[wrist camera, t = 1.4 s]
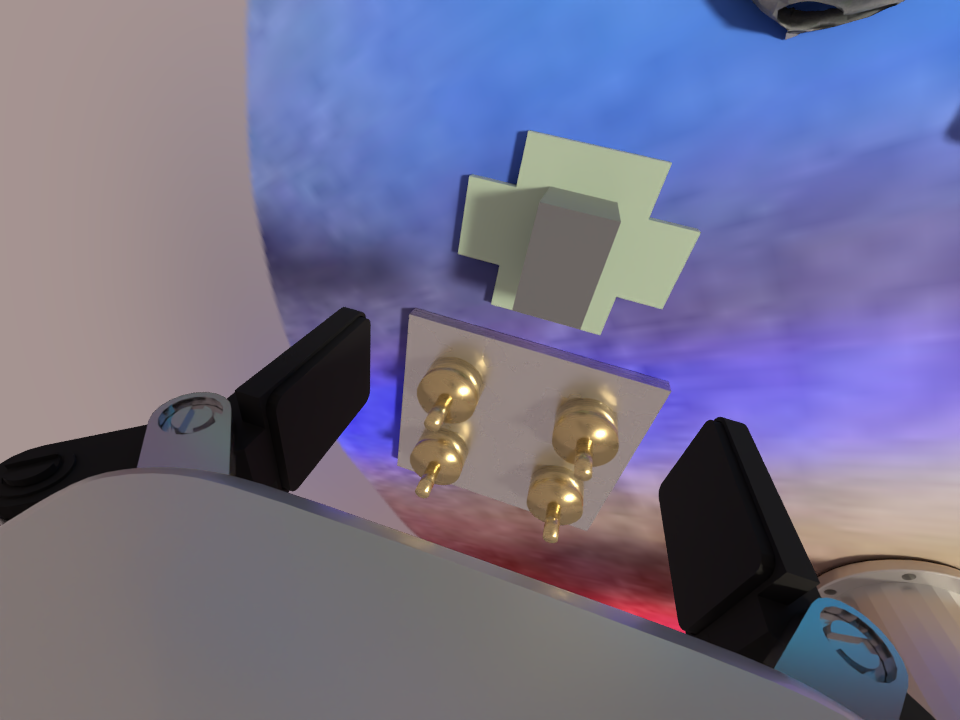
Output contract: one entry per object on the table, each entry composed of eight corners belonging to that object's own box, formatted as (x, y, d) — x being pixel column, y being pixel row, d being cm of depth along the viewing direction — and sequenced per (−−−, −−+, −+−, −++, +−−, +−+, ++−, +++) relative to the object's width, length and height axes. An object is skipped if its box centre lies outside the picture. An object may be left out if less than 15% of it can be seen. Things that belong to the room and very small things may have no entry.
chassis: (668, 381, 28) (684, 445, 23) (587, 520, 39) (585, 587, 33) (415, 307, 31) (375, 349, 25) (402, 457, 41) (371, 510, 35)
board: (725, 174, 21) (760, 191, 16) (641, 341, 27) (650, 389, 23) (481, 119, 23) (449, 120, 18) (455, 289, 29) (426, 323, 24)
